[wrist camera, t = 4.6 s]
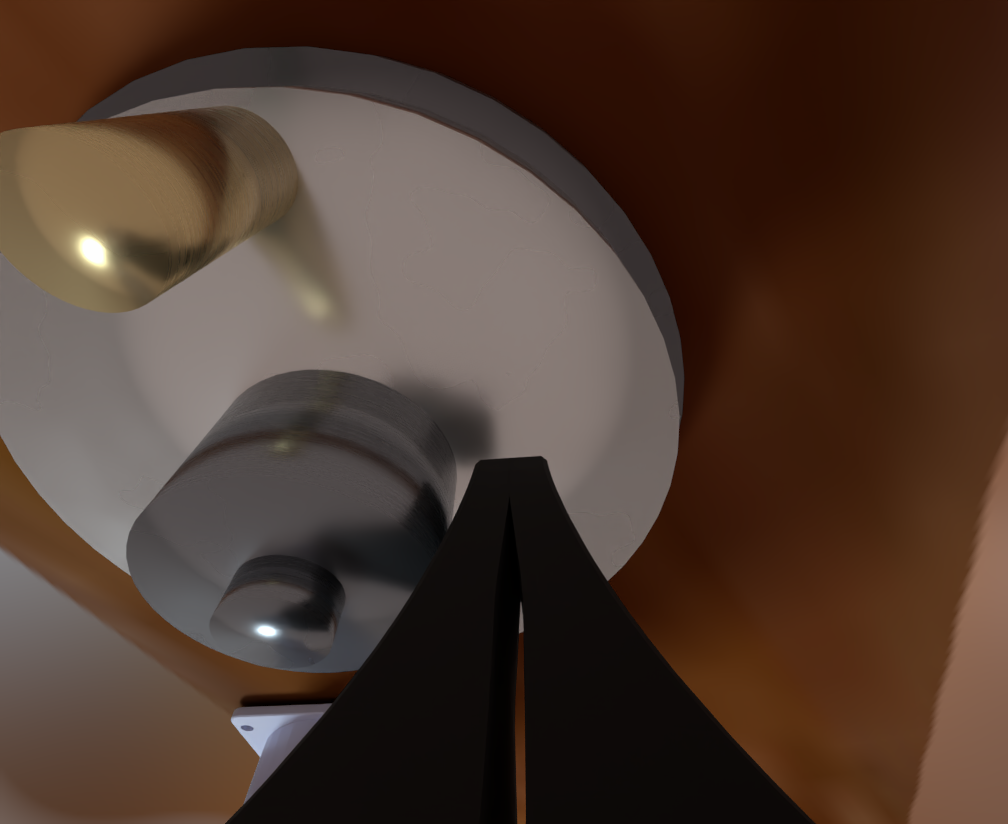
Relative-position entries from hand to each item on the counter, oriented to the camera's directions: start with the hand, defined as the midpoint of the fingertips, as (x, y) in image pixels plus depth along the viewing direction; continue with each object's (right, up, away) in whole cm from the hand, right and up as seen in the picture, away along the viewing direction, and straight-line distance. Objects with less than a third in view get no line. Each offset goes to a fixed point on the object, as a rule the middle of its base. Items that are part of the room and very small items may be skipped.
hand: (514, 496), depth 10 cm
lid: (-4, 0, +1) cm, 4 cm away
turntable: (-4, +1, +2) cm, 4 cm away
